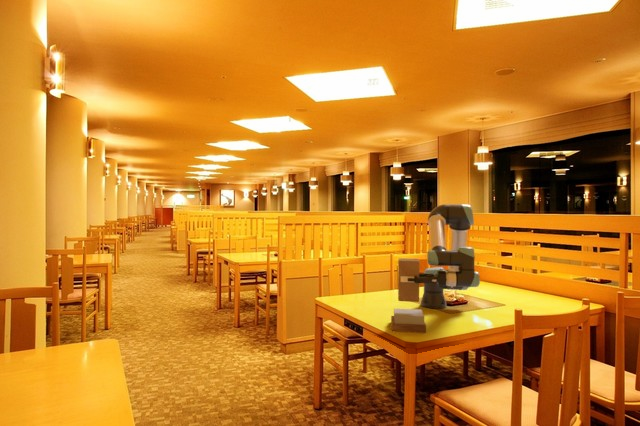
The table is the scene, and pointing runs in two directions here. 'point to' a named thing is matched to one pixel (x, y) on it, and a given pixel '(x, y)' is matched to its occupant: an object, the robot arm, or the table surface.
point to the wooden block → (408, 289)
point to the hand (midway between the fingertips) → (400, 277)
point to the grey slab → (408, 316)
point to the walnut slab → (407, 327)
